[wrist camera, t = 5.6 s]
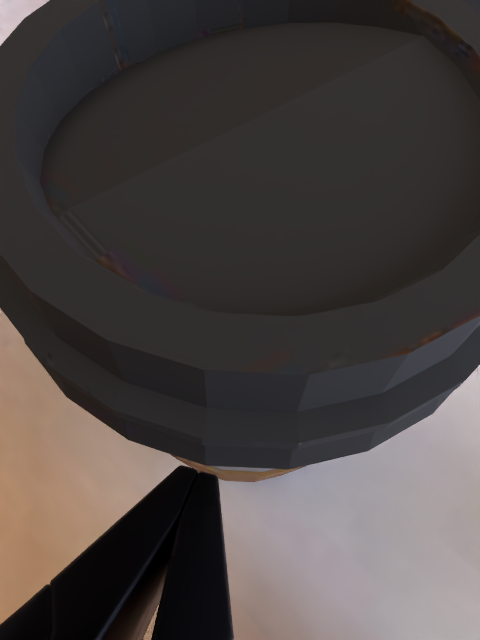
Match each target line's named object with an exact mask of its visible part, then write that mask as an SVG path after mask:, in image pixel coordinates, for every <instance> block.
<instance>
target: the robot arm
mask: <svg viewBox="0 0 480 640" xmlns="http://www.w3.org/2000/svg"><path fill="white" fill-rule="evenodd" d="M159 601H160V603H159ZM158 603H159V608H158V612H157V617H156V621H155V625H154V630H153V634H152V639H151V640H234V635H233V625H232V615H231V605H230V594H229V584H228V574H227V564H226V553H225V543H224V533H223V523H222V513H221V502H220V492H219V482H218V477H217V475H215V474H212V473H208V472H204V471H200V472H199V473H198V471H197V470H196V469H194V468H190V467H186V466H179V467H177V468H176V469H175V470H174V471H173V472H172V473H171V474H170V475H168V476H167V477H166V478H165V479H164V480H163V481H162V482H161V483H159V484H158V485H157V486H156V487H155V488H154V489H153V490H152V491H151V492H149V493H148V494H147V495H146V496H145V497H144V498H143V499H142V500H141V501H139V502H138V503H137V504H136V505H135V506H134V507H133V508H132V509H130V510H129V511H128V512H127V513H126V514H125V515H124V516H123V517H122V518H120V519H119V520H118V521H117V522H116V523H115V524H114V525H113V526H111V527H110V528H109V529H108V530H107V531H106V532H105V533H104V534H103V535H101V536H100V537H99V538H98V539H97V540H96V541H95V542H94V543H93V544H91V545H90V546H89V547H88V548H87V549H86V550H85V551H84V552H82V553H81V554H80V555H79V556H78V557H77V558H76V559H75V560H74V561H72V562H71V563H70V564H69V565H68V566H67V567H66V568H65V569H64V570H62V571H61V572H60V573H59V574H58V575H57V576H56V577H55V578H53V579H52V580H51V582H50V585H49V584H47V585H45V586H44V587H43V588H42V589H41V590H40V591H39V592H38V593H36V594H35V595H34V596H33V597H32V598H31V599H30V600H29V601H28V602H26V603H25V604H24V605H23V606H22V607H20V608H19V609H18V610H17V611H16V612H15V613H13V614H12V615H11V616H10V617H9V618H8V619H6V620H5V621H4V622H3V623H2V624H1V625H0V640H143V637H144V635H145V633H146V631H147V628H148V626H149V624H150V622H151V619H152V617H153V615H154V612H155V610H156V608H157V606H158Z"/></svg>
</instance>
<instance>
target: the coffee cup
mask: <svg viewBox="0 0 480 640" xmlns="http://www.w3.org/2000/svg"><path fill="white" fill-rule="evenodd" d="M0 308H1V309H2V311H3V312H4V313H5V315H6V316H7V317H8V318H9V320H10V321H11V322H12V324H13V325H14V326H15V328H16V329H17V330H18V331H19V333H20V334H21V335H22V337H23V338H24V341H25V343H26V345H27V346H28V347H29V349H30V350H31V351H32V353H33V354H34V355H35V356H36V358H37V359H38V360H39V362H40V363H41V364H42V366H43V367H44V368H45V369H46V371H47V372H48V373H49V375H50V376H51V377H52V379H53V380H54V381H55V382H56V384H57V385H58V386H59V388H60V389H61V390H62V392H63V393H64V394H65V395H66V397H67V398H69V399H70V400H72V401H73V402H75V403H76V404H78V405H79V406H80V407H82V408H83V409H85V410H86V411H88V412H89V413H90V414H92V415H93V416H95V417H96V418H98V419H99V420H100V421H102V422H103V423H105V424H106V425H108V426H109V427H111V428H112V429H113V430H115V431H116V432H118V433H119V434H121V435H122V436H123V437H125V438H126V439H128V440H130V441H133V442H136V443H139V444H142V445H145V446H148V447H151V448H154V449H157V450H160V451H163V452H166V453H169V454H171V455H172V456H173V457H175V458H176V459H178V460H180V461H182V462H183V463H185V464H187V465H188V466H190V467H192V468H194V469H196V470H197V471H199V472H200V471H204V472H208V473H212V474H215V475H217V477H218V478H219V479H222V480H225V481H239V482H255V481H259V480H263V479H268V478H272V477H276V476H280V475H283V474H286V473H289V472H291V471H294V470H297V469H299V468H302V467H305V466H307V465H310V464H314V463H319V462H323V461H327V460H331V459H336V458H340V457H344V456H348V455H353V454H357V453H361V452H365V451H368V450H370V449H372V448H374V447H375V446H377V445H379V444H381V443H382V442H384V441H386V440H388V439H389V438H391V437H393V436H395V435H396V434H398V433H400V432H401V431H403V430H405V429H407V428H408V427H410V426H412V425H414V424H415V423H417V422H419V421H421V420H422V419H424V418H426V417H428V416H429V415H431V414H433V413H434V411H435V410H436V409H437V408H438V407H439V406H440V405H441V404H442V403H443V401H444V400H445V399H446V398H447V397H448V396H449V395H450V394H451V393H452V392H453V390H455V389H457V388H458V387H459V386H460V385H461V384H462V383H463V382H464V381H465V380H466V379H467V378H468V377H469V376H470V375H471V373H472V372H473V371H474V370H475V369H476V368H477V367H478V366H479V365H480V15H479V14H478V13H477V12H476V11H474V10H473V9H472V8H471V7H470V6H468V5H467V4H466V3H465V2H463V1H461V0H50V1H49V2H47V3H46V4H44V5H43V6H41V7H40V8H39V9H37V10H36V11H34V12H33V13H31V14H30V15H29V16H27V17H26V18H24V20H23V21H22V22H21V23H20V24H19V25H18V26H17V28H16V29H15V30H14V31H13V32H12V33H11V34H10V36H9V37H8V38H7V39H6V40H5V41H4V42H3V44H2V45H1V46H0Z"/></svg>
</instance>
